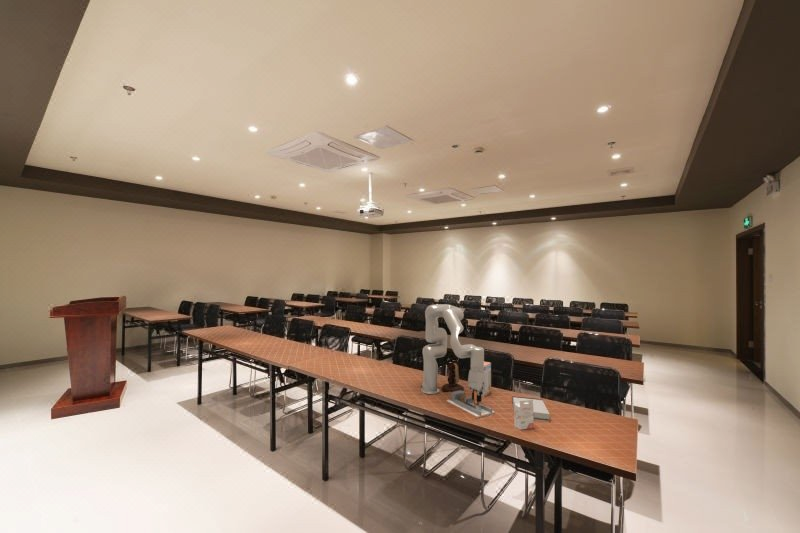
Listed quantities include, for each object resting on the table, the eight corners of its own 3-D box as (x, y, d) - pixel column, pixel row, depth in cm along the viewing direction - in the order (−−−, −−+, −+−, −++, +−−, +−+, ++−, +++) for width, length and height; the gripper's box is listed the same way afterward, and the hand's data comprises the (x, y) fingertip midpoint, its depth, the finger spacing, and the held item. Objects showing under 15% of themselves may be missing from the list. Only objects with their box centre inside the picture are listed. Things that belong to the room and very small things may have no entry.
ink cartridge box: (527, 424, 181) (527, 396, 181) (533, 428, 176) (534, 399, 177) (513, 426, 178) (514, 397, 179) (519, 430, 174) (519, 401, 174)
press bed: (445, 403, 209) (446, 392, 209) (463, 399, 216) (463, 389, 216) (476, 419, 186) (476, 407, 186) (494, 414, 193) (495, 403, 193)
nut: (458, 402, 207) (458, 395, 207) (463, 401, 209) (463, 394, 209) (462, 404, 203) (463, 397, 203) (468, 403, 205) (468, 396, 205)
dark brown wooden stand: (459, 396, 222) (459, 365, 223) (438, 391, 230) (439, 362, 231) (467, 390, 235) (467, 361, 236) (447, 386, 243) (447, 357, 243)
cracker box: (482, 391, 232) (483, 360, 233) (491, 393, 229) (491, 362, 229) (473, 396, 221) (474, 364, 222) (482, 399, 218) (482, 366, 218)
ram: (464, 405, 200) (464, 387, 201) (472, 403, 203) (472, 385, 204) (474, 410, 193) (475, 391, 193) (483, 408, 196) (483, 390, 196)
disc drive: (542, 407, 207) (542, 399, 207) (549, 422, 185) (549, 413, 185) (512, 404, 211) (512, 396, 211) (516, 418, 189) (516, 409, 189)
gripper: (462, 366, 202) (462, 397, 201) (482, 373, 188) (482, 406, 187) (472, 364, 206) (471, 395, 205) (492, 371, 192) (491, 404, 191)
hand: (476, 400), depth 196 cm, fingers closed on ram, 3 cm apart
